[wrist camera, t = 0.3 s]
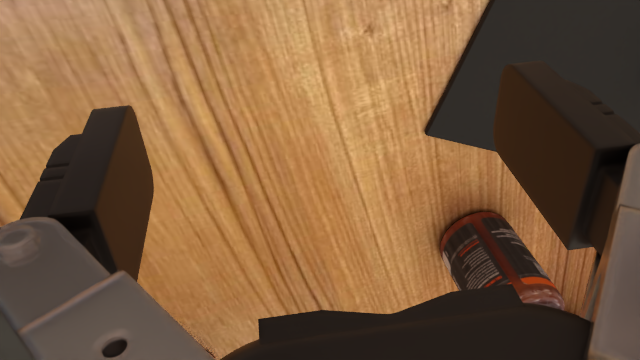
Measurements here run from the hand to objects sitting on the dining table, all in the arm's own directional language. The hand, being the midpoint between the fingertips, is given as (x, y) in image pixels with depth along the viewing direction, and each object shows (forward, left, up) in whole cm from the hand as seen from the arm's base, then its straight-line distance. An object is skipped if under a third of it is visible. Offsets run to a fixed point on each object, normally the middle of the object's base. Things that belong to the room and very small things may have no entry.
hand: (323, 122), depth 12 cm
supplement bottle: (+17, +23, -21) cm, 35 cm away
